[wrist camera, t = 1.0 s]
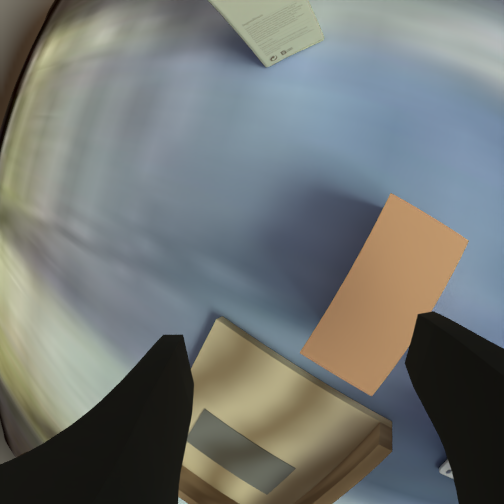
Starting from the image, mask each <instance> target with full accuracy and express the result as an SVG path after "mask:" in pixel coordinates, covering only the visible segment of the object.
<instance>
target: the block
mask: <svg viewBox="0 0 504 504" xmlns="http://www.w3.org/2000/svg"><path fill="white" fill-rule="evenodd" d="M468 242H469V241H468V240H467V239H465V238H464V237H462V236H461V235H459V234H458V233H456V232H455V231H453V230H452V229H450V228H449V227H447V226H445V225H444V224H442V223H441V222H439V221H438V220H436V219H434V218H433V217H431V216H429V215H428V214H426V213H424V212H423V211H421V210H419V209H418V208H416V207H414V206H413V205H411V204H409V203H408V202H406V201H404V200H402V199H401V198H399V197H397V196H395V195H393V194H392V193H391V194H390V196H389V198H388V200H387V202H386V204H385V206H384V208H383V210H382V212H381V214H380V216H379V218H378V220H377V221H376V223H375V225H374V227H373V229H372V231H371V233H370V235H369V237H368V239H367V240H366V242H365V244H364V246H363V248H362V250H361V252H360V253H359V255H358V257H357V259H356V261H355V262H354V264H353V266H352V268H351V270H350V271H349V273H348V275H347V277H346V278H345V280H344V282H343V284H342V285H341V287H340V289H339V290H338V292H337V294H336V295H335V297H334V299H333V300H332V302H331V304H330V305H329V307H328V309H327V310H326V312H325V314H324V315H323V317H322V319H321V320H320V322H319V323H318V325H317V327H316V328H315V330H314V331H313V333H312V334H311V336H310V338H309V339H308V341H307V342H306V344H305V345H304V347H303V348H302V350H301V351H300V354H302V355H304V356H305V357H307V358H308V359H310V360H312V361H313V362H315V363H316V364H318V365H320V366H321V367H323V368H325V369H326V370H328V371H330V372H331V373H333V374H335V375H336V376H338V377H339V378H341V379H343V380H345V381H346V382H348V383H350V384H351V385H353V386H355V387H356V388H358V389H360V390H361V391H363V392H365V393H367V394H368V395H370V396H372V395H373V394H374V393H375V392H376V390H377V389H378V388H379V387H380V385H381V384H382V383H383V381H384V380H385V379H386V377H387V376H388V375H389V373H390V372H391V371H392V369H393V368H394V367H395V365H396V364H397V362H398V361H399V360H400V358H401V357H402V355H403V354H404V353H405V351H406V350H407V348H408V347H409V345H410V343H411V339H412V335H413V332H414V328H415V324H416V319H417V315H418V314H421V313H427V312H431V311H432V309H433V308H434V306H435V304H436V302H437V301H438V299H439V297H440V296H441V294H442V292H443V290H444V288H445V287H446V285H447V283H448V281H449V279H450V277H451V276H452V274H453V272H454V270H455V268H456V266H457V264H458V262H459V260H460V258H461V256H462V254H463V252H464V250H465V248H466V246H467V244H468Z"/></svg>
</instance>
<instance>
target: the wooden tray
mask: <svg viewBox="0 0 504 504" xmlns="http://www.w3.org/2000/svg"><path fill="white" fill-rule="evenodd" d="M191 373H192V377H193V381H194V396H193V410H192V417H191V422H190V427H189V432H188V438H187V443H186V448H185V453H184V458H183V463H182V468H181V474H180V481H179V493H178V497H180V498H181V499H182V500H184V501H185V502H187V503H188V504H332V503H334V502H335V501H336V500H338V499H339V498H340V497H341V496H343V495H344V494H345V493H346V492H348V491H349V490H350V489H351V488H352V487H354V486H355V485H356V484H357V483H358V482H360V481H361V480H362V479H363V478H364V477H365V476H366V475H368V474H369V473H370V472H371V471H372V470H373V469H374V468H375V467H376V466H377V465H378V464H380V463H381V462H382V461H383V460H384V459H385V458H386V457H387V456H388V455H389V454H390V453H391V452H392V421H390V420H388V419H386V418H384V417H383V416H381V415H379V414H377V413H375V412H374V411H372V410H370V409H368V408H366V407H365V406H363V405H361V404H359V403H358V402H356V401H354V400H352V399H351V398H349V397H347V396H346V395H344V394H342V393H341V392H339V391H337V390H335V389H334V388H332V387H330V386H329V385H327V384H325V383H324V382H322V381H321V380H319V379H317V378H316V377H314V376H312V375H311V374H309V373H308V372H306V371H304V370H303V369H301V368H300V367H298V366H296V365H295V364H293V363H292V362H290V361H289V360H287V359H285V358H284V357H282V356H281V355H279V354H278V353H276V352H275V351H273V350H272V349H270V348H268V347H267V346H265V345H264V344H262V343H261V342H259V341H258V340H256V339H255V338H253V337H252V336H250V335H249V334H247V333H246V332H245V331H243V330H242V329H240V328H239V327H237V326H236V325H234V324H233V323H231V322H230V321H228V320H227V319H226V318H224V317H223V316H222V317H220V318H218V319H216V321H215V323H214V325H213V327H212V329H211V331H210V333H209V335H208V337H207V339H206V341H205V342H204V344H203V346H202V348H201V350H200V352H199V354H198V356H197V358H196V360H195V362H194V364H193V366H192V368H191Z"/></svg>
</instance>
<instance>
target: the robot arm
mask: <svg viewBox="0 0 504 504" xmlns="http://www.w3.org/2000/svg"><path fill="white" fill-rule="evenodd" d="M405 365H406V368H407V371H408V373H409V376H410V379H411V381H412V384H413V387H414V389H415V391H416V393H417V395H418V397H419V399H420V400H421V402H422V404H423V406H424V408H425V410H426V412H427V414H428V416H429V418H430V419H431V421H432V423H433V425H434V427H435V429H436V431H437V433H438V435H439V437H440V439H441V442H442V444H443V446H444V449H445V452H446V455H447V458H448V459H447V460H446V461H445V462H444V463H443V464H442V465H441V466H440V468H439V472H440V473H441V474H443V475H445V476H448V477H450V478H453V479H454V482H455V486H456V491H457V496H458V502H459V504H504V349H503V348H501V347H499V346H497V345H496V344H494V343H492V342H490V341H488V340H486V339H484V338H483V337H481V336H479V335H477V334H475V333H474V332H472V331H470V330H468V329H467V328H465V327H463V326H461V325H459V324H458V323H456V322H454V321H452V320H450V319H448V318H446V317H444V316H442V315H440V314H438V313H436V312H427V313H421V314H418V315H417V319H416V324H415V328H414V332H413V335H412V339H411V343H410V346H409V350H408V354H407V357H406V360H405ZM193 396H194V381H193V377H192V373H191V368H190V364H189V360H188V355H187V351H186V346H185V342H184V337H183V335H163V336H162V337H161V338H160V339H159V340H158V341H157V342H156V343H155V344H154V345H153V347H152V348H151V349H150V350H149V351H148V352H147V353H146V354H145V356H144V357H143V358H142V359H141V360H140V361H139V362H138V363H137V365H136V366H135V367H134V368H133V369H132V370H131V371H130V372H129V373H128V374H127V375H126V376H125V378H124V379H123V380H122V381H121V382H120V383H119V384H118V385H117V386H116V387H115V388H114V389H113V390H112V391H111V392H110V393H109V394H108V395H106V396H105V397H104V398H103V399H102V400H101V401H100V402H99V403H98V404H97V405H96V406H95V407H93V408H92V409H91V410H90V411H89V412H87V413H86V414H85V415H84V416H82V417H81V418H80V419H79V420H77V421H76V422H75V423H73V424H72V425H71V426H69V427H68V428H66V429H65V430H63V431H62V432H60V433H59V434H57V435H56V436H54V437H53V438H51V439H50V440H48V441H46V442H45V443H43V444H42V445H40V446H38V447H36V448H34V449H32V450H31V451H29V452H27V453H25V454H23V455H21V456H19V457H17V458H14V459H12V460H10V461H8V462H5V463H3V464H0V504H178V493H179V481H180V474H181V468H182V463H183V458H184V453H185V448H186V443H187V438H188V432H189V427H190V422H191V417H192V410H193ZM447 470H449V471H447Z"/></svg>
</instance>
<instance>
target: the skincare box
mask: <svg viewBox="0 0 504 504" xmlns="http://www.w3.org/2000/svg"><path fill="white" fill-rule="evenodd" d="M208 1H209V2H210V3H211V4H212V5H213V6H214V8H215V9H216V10H217V11H218V12H219V13H220V14H221V15H222V16H223V17H224V19H225V20H226V21H227V22H228V23H229V24H230V25H231V27H232V28H233V29H234V30H235V31H236V32H237V33H238V35H239V36H240V37H241V38H242V39H243V40H244V41H245V43H246V44H247V45H248V46H249V47H250V49H251V50H252V51H253V52H254V54H255V55H256V56H257V57H258V58H259V60H260V61H261V62H262V63H263V65H264V66H265V67H269V66H272V65H274V64H275V63H277V62H279V61H281V60H282V59H284V58H286V57H288V56H290V55H293V54H295V53H297V52H299V51H301V50H304V49H306V48H308V47H310V46H312V45H314V44H316V43H319V42H321V41H323V40H324V35H323V32H322V30H321V28H320V25H319V23H318V21H317V19H316V16H315V14H314V12H313V10H312V7H311V5H310V3H309V1H308V0H208Z"/></svg>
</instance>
